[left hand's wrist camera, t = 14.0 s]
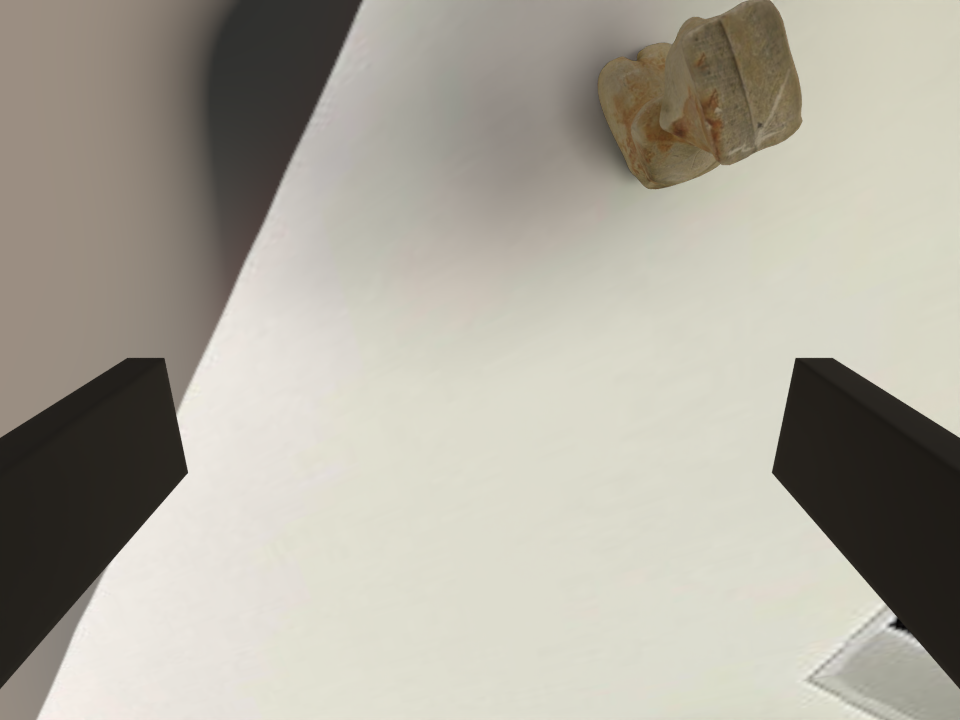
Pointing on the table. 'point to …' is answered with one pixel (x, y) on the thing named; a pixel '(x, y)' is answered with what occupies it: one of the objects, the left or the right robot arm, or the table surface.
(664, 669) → the table surface
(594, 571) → the table surface
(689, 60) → the sculpture
